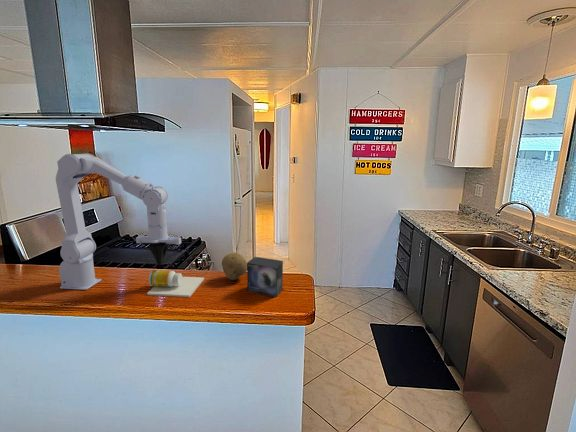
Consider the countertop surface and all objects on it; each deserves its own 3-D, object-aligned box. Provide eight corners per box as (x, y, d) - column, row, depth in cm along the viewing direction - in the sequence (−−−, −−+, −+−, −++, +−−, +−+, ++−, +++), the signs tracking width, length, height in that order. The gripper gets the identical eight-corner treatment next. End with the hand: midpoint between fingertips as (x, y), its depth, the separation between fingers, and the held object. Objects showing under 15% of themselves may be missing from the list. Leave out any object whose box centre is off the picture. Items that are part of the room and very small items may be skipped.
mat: (147, 294, 103) (146, 293, 102) (166, 277, 116) (166, 275, 116) (189, 297, 102) (189, 295, 101) (204, 279, 115) (204, 277, 115)
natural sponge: (245, 273, 121) (245, 248, 119) (249, 283, 112) (249, 256, 110) (221, 275, 118) (220, 250, 116) (223, 285, 110) (222, 258, 108)
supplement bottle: (156, 270, 111) (184, 271, 110) (154, 286, 109) (182, 287, 109) (149, 269, 106) (178, 270, 105) (147, 286, 104) (176, 287, 104)
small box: (246, 292, 106) (245, 262, 103) (254, 284, 112) (254, 256, 109) (275, 298, 102) (276, 266, 100) (283, 289, 108) (283, 260, 106)
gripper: (129, 226, 101) (133, 267, 104) (174, 228, 100) (176, 269, 103) (141, 221, 108) (144, 259, 111) (182, 223, 107) (185, 261, 110)
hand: (160, 263), depth 108 cm, fingers closed
